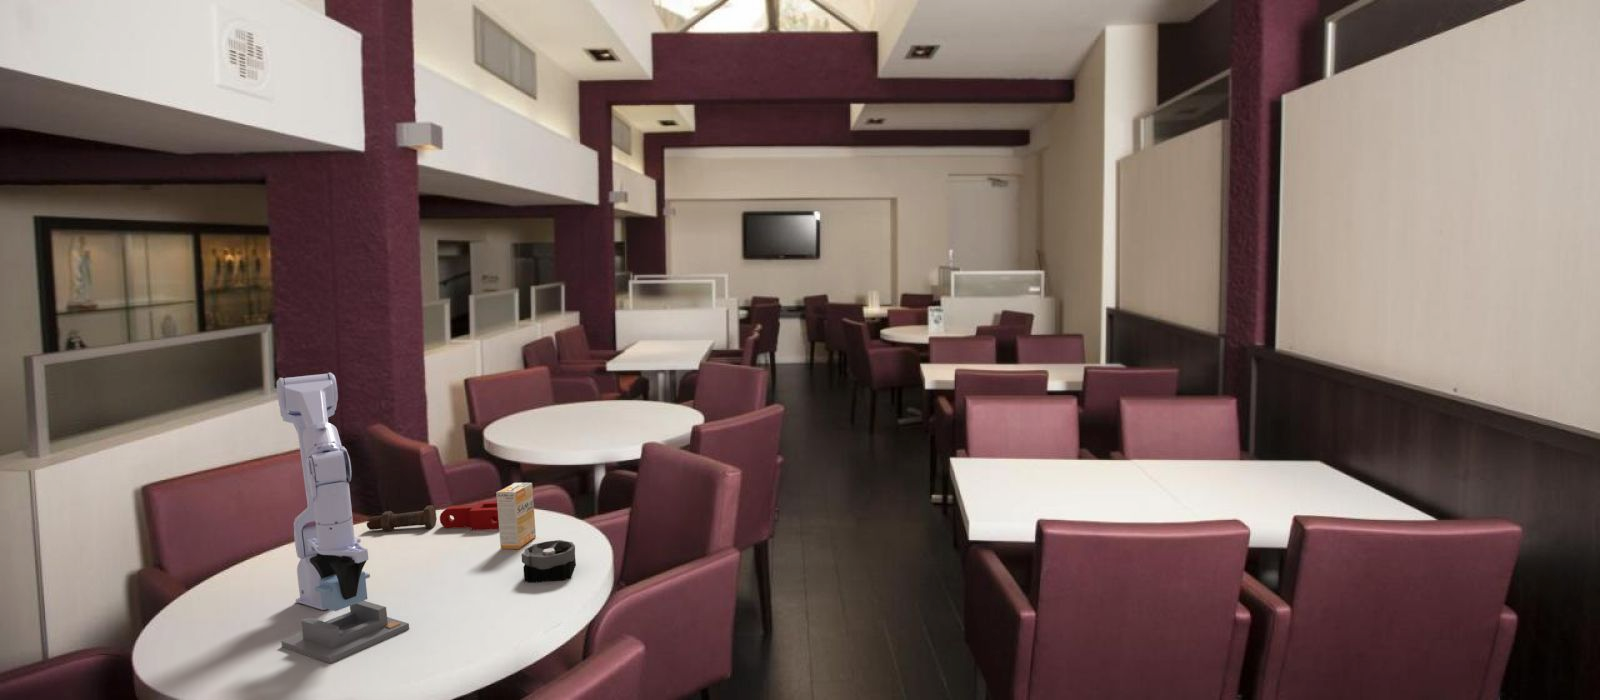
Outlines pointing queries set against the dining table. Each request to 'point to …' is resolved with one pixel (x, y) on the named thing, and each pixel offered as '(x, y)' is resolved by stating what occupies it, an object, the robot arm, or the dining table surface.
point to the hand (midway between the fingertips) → (342, 595)
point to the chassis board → (345, 632)
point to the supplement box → (516, 515)
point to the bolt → (403, 519)
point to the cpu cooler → (549, 561)
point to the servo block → (332, 592)
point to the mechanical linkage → (472, 516)
